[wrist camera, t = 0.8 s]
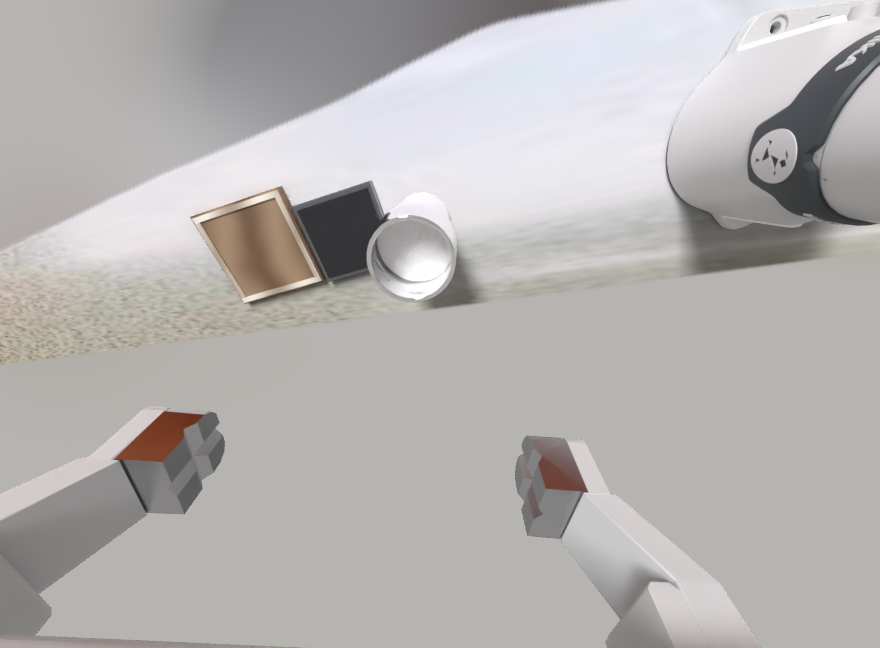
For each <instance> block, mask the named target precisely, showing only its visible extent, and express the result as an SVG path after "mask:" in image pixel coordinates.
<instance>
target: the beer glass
mask: <svg viewBox="0 0 880 648" xmlns="http://www.w3.org/2000/svg"><path fill="white" fill-rule="evenodd" d="M456 257H457V239H456V234H455V231H454V228H453V225H452V223H451V221H450V216H449V212H448V209H447V207H446V205H445V204H444V203H443V201H442V200H441V199H440V198H438V197H437V196H435V195H433V194H431V193H427V192H416V193H413V194H411V195H409V196H407V197H406V198H405V199H404V200H403V201H402V202H401V203H400V204H399V205H397V206H395V207H394V208H392V209H391V210H390V211H389V212H387V213H386V214H385V215H384V216H383V218H382V219H381V220H380V222H379V223H378V225H377V227H376V229H375V231H374V233H373V235H372V237H371V239H370V241H369V244H368V248H367V266H368V270H369V272H370V275H371V277H372V279H373V280H374V282H375V283H376V285H377V286H378V287H379V288H380V289H381V290H382V291H383V292H385V293H386V294H387V295H389V296H391V297H393V298H395V299H398V300H401V301H405V302H421V301H425V300H429V299H431V298H433V297H435V296H437V295H438V294H440V293H441V292H442V291H443V290H444V289H445V288H446V287H447V286H448V284H449V283H450V281H451V279H452V277H453V275H454V272H455V267H456Z"/></svg>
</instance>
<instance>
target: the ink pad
mask: <svg viewBox="0 0 880 648" xmlns="http://www.w3.org/2000/svg"><path fill="white" fill-rule="evenodd" d="M292 208H293V210H294V212H295V214H296V216H297V218H298V220H299V222H300V224H301V226H302V228H303V231H304V233H305V235H306V237H307V239H308V241H309V243H310V245H311V247H312V249H313V251H314V253H315V255H316V258H317V260H318V262H319V264H320V266H321V268H322V270H323V272H324V274H325V276H326V278H327V280H328V282H330V281H334V280H337V279H341V278H344V277H348V276H351V275H355V274H358V273H362V272H365V271H369V270H368V266H367V248H368V244H369V241H370V239H371V237H372V235H373V233H374V231H375V229H376V227H377V225H378V223H379V222H380V220H381V219H382V218H383V216H384V214H383V211H382V209H381V206H380V203H379V200H378V197H377V195H376V192H375V189H374V186H373V184H372V181H368V182H365V183H362V184H359V185H356V186H353V187H350V188H347V189H344V190H341V191H338V192H335V193H332V194H329V195H326V196H323V197H320V198H317V199H314V200H311V201H308V202H304V203H301V204H298V205H295V206H293V207H292Z"/></svg>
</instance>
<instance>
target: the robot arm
mask: <svg viewBox="0 0 880 648" xmlns="http://www.w3.org/2000/svg"><path fill="white" fill-rule="evenodd" d="M772 24H773V26H774V29H773V32H772V34H771V33H770V28H771V26H772ZM667 167H668V174H669V178H670V181H671V183H672V185H673V187H674V189H675V191H676V192H677V194H678V195H679V196H680V197H681V198H682V199H683V200H684V201H685V202H687V203H688V204H690V205H692V206H694V207H696V208H699V209H702V210H705V211H707V212H709V213H711V214H712V215H713V217H714V218H715V219H716V221H717V222H718V223H719V224H720V225H721V226H722V227H724V228H727V229H733V230H735V229H740V228H742V227H744V226H747V225H749V224H751V223H754V222H755V223H761V224H768V225H774V226H781V227H789V228H794V227H800V226H801V225H802V224H803V223H807V222H810V221H813V220H816V221H820V222H825V223H831V224H847V225H857V226H859V225H873V224H880V0H857V1H849V2H840V3H832V4H823V5H815V6H807V7H798V8H790V9H782V10H773V11H767V12H763V13H759V14H756V15H754V16H752V17H751V18H749V19H748V20H747V21H746V22H745V24H744V25H743V26H742V28H741V29H740V31H739V32H738V34H737V35H736V37H735V39H734V41H733V42H732V44H731V46H730V48H729V50H728V51H727V53H726V55H725V56H724V58H723V59H722V60H721V61H720V63H719V64H718V65H717V66H716V67H715V68H714V69H713V70H712V71H711V72H710V73H709V74H708V75H707V76H706V77H705V78H704V79H703V80H702V81H701V82H700V83H699V85H698V86H697V87H696V88H695V89H694V91H693V92H692V93H691V95H690V96H689V98H688V99H687V101H686V102H685V104H684V106H683V107H682V109H681V111H680V113H679V115H678V117H677V119H676V121H675V124H674V126H673V129H672V132H671V136H670V140H669V145H668V152H667ZM218 424H219V420H218V417H217V415H216V413H213V412H209V411H199V410H189V409H180V408H166V407H156V406H151V407H148V408H145V409H143V410H142V411H141V412H140V413H138V414H137V415H136V416H135V417H134V418H133V419H132V420H130V421H129V422H128V423H127V424H126V425H125V426H124V427H123V428H121V429H120V430H119V431H118V432H117V433H116V434H115V435H113V436H112V437H111V438H110V439H109V440H108V441H107V442H106V443H104V444H103V445H102V446H101V447H100V448H99V449H97V450H96V451H95V452H94V453H93V454H92V455H91V456H89V457H88V458H79V459H77V460H74V461H73V462H70V463H68V464H66V465H63V466H62V467H59V468H57V469H55V470H52V471H51V472H48V473H46V474H44V475H41V476H39V477H37V478H35V479H33V480H30V481H28V482H26V483H24V484H22V485H19V486H17V487H15V488H13V489H11V490H8V491H7V492H4V493H2V494H0V648H296V647H274V646H252V645H231V644H230V645H229V644H209V643H187V642H165V641H164V642H163V641H142V640H120V639H98V638H76V637H53V636H35V635H36V634H37V633H38V631H39V630H40V629H41V628H42V626H43V625H44V624H45V623H46V621H47V620H48V619H49V618H50V617H51V607H50V606H49V605H48V604H47V603H46V602H45V601H44V600H43V598H42V597H41V596H40V595H39V593H41V592H42V591H44V590H45V589H46V588H47V587H49V586H50V585H52V584H53V583H54V582H56V581H57V580H58V579H60V578H61V577H63V576H64V575H65V574H67V573H68V572H69V571H71V570H72V569H74V568H75V567H76V566H78V565H79V564H80V563H82V562H83V561H85V560H86V559H87V558H89V557H90V556H91V555H93V554H94V553H96V552H97V551H98V550H100V549H101V548H102V547H104V546H105V545H106V544H108V543H109V542H111V541H112V540H113V539H114V538H116V537H117V536H119V535H120V534H121V533H123V532H124V531H126V530H127V529H128V528H130V527H131V526H132V525H134V524H135V523H137V522H138V521H139V520H141V519H142V518H143V517H145V516H146V515H147V514H146V513H164V514H165V513H166V514H185V513H186V511H187V510H188V509H189V507H190V506H191V504H192V503H193V501H194V500H195V499H196V497H197V496H198V494H199V493H200V491H201V490H202V480H203V479H204V478H206V477H207V476H209V475H211V474H212V473H214V471H215V470H216V468H217V466H218V465H219V464H220V462H221V459H222V456H223V453H224V447H225V441H224V438H223V435H222V434H221V433H219V432H218V431H217V430H216V429H215V428H216V426H217V425H218ZM522 449H523V454H522V455H520V456H519V457H518V460H517V464H516V471H515V479H516V487H517V491H518V494H519V495H520V496H521V497H522V499H523V500H524V504H523V507H522V514H523V518H524V523H525V527H526V531H527V536H536V537H546V538H557V539H561V542H562V543H563V545H564V546H565V547H566V548H567V550H568V551H569V553H570V554H571V555H572V556H573V558H574V559H575V560H576V562H577V563H578V564H579V566H580V567H581V568H582V570H583V571H584V572H585V573H586V574H587V576H588V577H589V579H590V580H591V581H592V583H593V584H594V585H595V587H596V588H597V589H598V591H599V592H600V593H601V595H602V596H603V597H604V598H605V600H606V601H607V603H608V604H609V605H610V606H611V608H612V609H613V610H614V612H615V613H616V614H617V615H618V617H619V618H620V621H619V623H618V624H617V625H616V626H615V628H614V629H613V631H612V632H611V633H610V634H609V636H608V638H607V640H606V645H607V648H761V647H760V646H759V644H758V643H757V641H756V639H755V638H754V636H753V635H752V633H751V631H750V630H749V628H748V627H747V625H746V624H745V622H744V621H743V619H742V617H741V616H740V614H739V613H738V611H737V610H736V608H735V606H734V605H733V603H732V602H731V600H730V599H729V597H728V595H727V594H726V592H725V591H724V589H723V588H722V586H721V584H720V583H718V582H717V581H716V580H715V579H714V578H713V577H712V576H710V575H709V574H708V573H707V572H706V571H705V570H703V569H702V568H701V567H700V566H699V565H698V564H696V563H695V562H694V561H693V560H692V559H691V558H689V557H688V556H687V555H686V554H685V553H684V552H682V551H681V550H680V549H679V548H678V547H677V546H675V545H674V544H673V543H672V542H671V541H670V540H668V539H667V538H666V537H665V536H664V535H662V533H660V532H659V531H658V530H657V529H656V528H655V527H653V526H652V525H651V524H650V523H649V522H648V521H646V520H645V519H644V518H643V517H642V516H641V515H639V514H638V513H637V512H636V511H635V510H634V509H632V508H631V507H630V506H629V505H628V504H627V503H625V502H624V501H623V500H622V499H621V498H620V497H619V496H617V495H611V493H610V491H609V489H608V487H607V486H606V483H605V481H604V479H603V477H602V475H601V473H600V471H599V469H598V467H597V465H596V463H595V461H594V459H593V457H592V455H591V453H590V451H589V449H588V447H587V445H586V443H585V442H584V441H583V440H582V439H566V438H563V439H562V438H552V437H538V436H526V437H525V438H524V440H523V443H522Z"/></svg>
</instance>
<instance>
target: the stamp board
mask: <svg viewBox="0 0 880 648" xmlns="http://www.w3.org/2000/svg"><path fill="white" fill-rule="evenodd" d="M190 218H191V220H192V221H193V223H194V224H195V226H196V227H197V229H198V231H199V232H200V234H201V235H202V237H203V239H204V240H205V242H206V243H207V245H208V247H209V248H210V250H211V251H212V253H213V255H214V256H215V258H216V259H217V261H218V263H219V264H220V266H221V267H222V269H223V271H224V272H225V274H226V275H227V277H228V278H229V280H230V282H231V283H232V285H233V286H234V288H235V290H236V291H237V293H238V294H239V296H240V298H241V299H242V301H243V302H244V304H247V303H250V302H253V301H257V300H260V299H264V298H267V297H271V296H274V295H278V294H281V293H285V292H288V291H292V290H295V289H299V288H302V287H306V286H309V285H312V284H316V283H319V282H323V281H325V280H326V277H325V275H324V273H323V271H322V269H321V267H320V264H319V262H318V260H317V258H316V256H315V254H314V252H313V250H312V248H311V246H310V244H309V242H308V240H307V237H306V235H305V233H304V231H303V229H302V227H301V225H300V223H299V221H298V219H297V217H296V215H295V212H294V210H293V208H292V206H291V204H290V202H289V200H288V198H287V196H286V194H285V192H284V190H283V188H282V186H281V187H277V188H274V189H271V190H268V191H265V192H262V193H260V194H257V195H254V196H251V197H248V198H245V199H242V200H239V201H236V202H233V203H230V204H227V205H224V206H221V207H218V208H215V209H212V210H210V211H207V212H204V213H201V214H198V215H195V216H192V217H190Z"/></svg>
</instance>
